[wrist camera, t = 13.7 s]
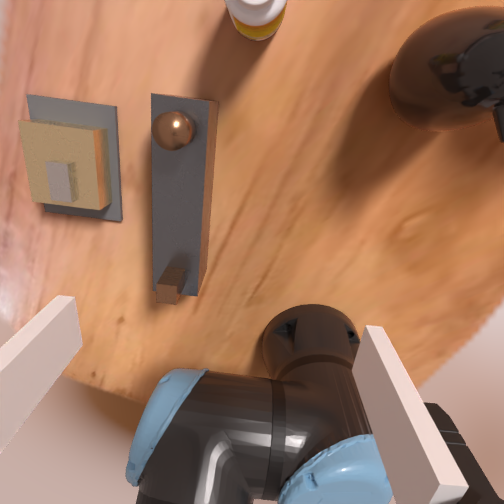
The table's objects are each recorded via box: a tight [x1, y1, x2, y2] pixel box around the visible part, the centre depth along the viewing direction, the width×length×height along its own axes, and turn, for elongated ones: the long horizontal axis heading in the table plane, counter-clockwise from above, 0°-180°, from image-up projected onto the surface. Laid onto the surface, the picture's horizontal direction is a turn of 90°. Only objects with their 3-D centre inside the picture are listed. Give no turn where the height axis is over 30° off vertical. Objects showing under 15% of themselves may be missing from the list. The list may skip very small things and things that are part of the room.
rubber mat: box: [26, 94, 123, 221], centre depth 39 cm, size 14×10×1 cm
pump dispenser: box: [389, 6, 504, 143], centre depth 28 cm, size 10×10×15 cm
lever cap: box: [18, 119, 112, 210], centre depth 37 cm, size 9×8×4 cm
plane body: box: [151, 93, 219, 305], centre depth 36 cm, size 22×6×11 cm, turn 173°
